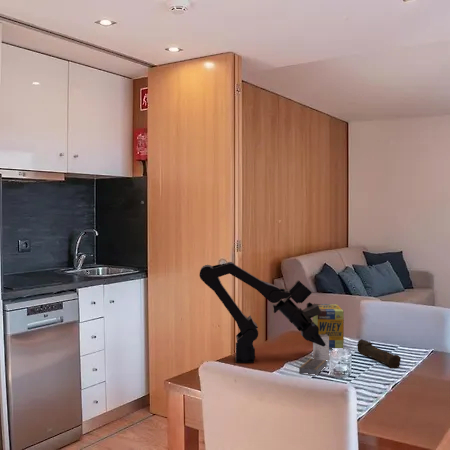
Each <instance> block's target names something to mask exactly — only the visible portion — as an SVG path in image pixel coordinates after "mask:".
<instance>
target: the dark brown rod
mask: <svg viewBox="0 0 450 450" xmlns="http://www.w3.org/2000/svg"><path fill="white" fill-rule="evenodd" d="M356 346H357V351H358V353H359V354H360V355H362V356H363V357H369V358H372V359H375V360H377V361H378V362H381V363H383V364H385V365H387V366H388V367H389V369H397V368H399V367H400V365H401V360H402V359H401V356H400V355H398V354H393V353H391V352H388V351H386V350H383V349H381V348H378V347H376V346H374V345H373V343H372V342H370V341H367V340H366V339H365V340H364V339H359V340H358V341H357V345H356Z"/></svg>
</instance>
